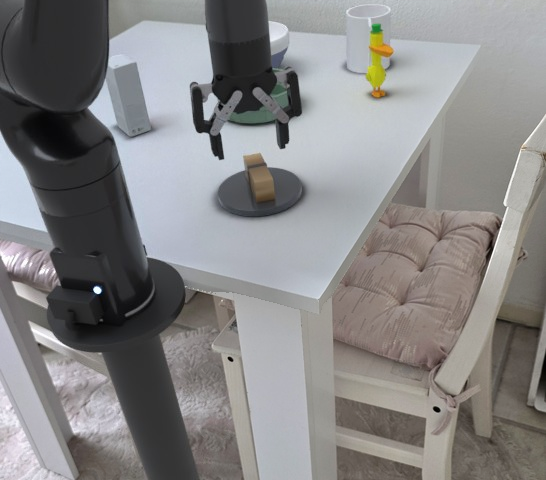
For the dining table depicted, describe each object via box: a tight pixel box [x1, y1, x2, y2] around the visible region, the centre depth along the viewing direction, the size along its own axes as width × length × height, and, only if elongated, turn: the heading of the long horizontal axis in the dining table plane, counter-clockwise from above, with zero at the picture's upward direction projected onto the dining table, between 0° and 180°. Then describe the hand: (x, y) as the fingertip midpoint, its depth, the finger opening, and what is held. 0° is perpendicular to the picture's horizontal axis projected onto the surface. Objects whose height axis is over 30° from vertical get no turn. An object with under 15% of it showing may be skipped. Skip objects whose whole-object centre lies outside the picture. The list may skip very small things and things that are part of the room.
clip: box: [242, 152, 275, 203], centre depth 93 cm, size 8×3×3 cm, turn 13°
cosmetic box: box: [105, 53, 152, 138], centre depth 112 cm, size 6×4×12 cm
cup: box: [345, 3, 392, 74], centre depth 123 cm, size 8×12×10 cm
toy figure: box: [365, 24, 394, 99], centre depth 113 cm, size 7×4×12 cm, turn 30°
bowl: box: [268, 20, 290, 69], centre depth 128 cm, size 14×14×8 cm
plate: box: [217, 166, 303, 218], centre depth 95 cm, size 12×12×1 cm
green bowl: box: [216, 68, 288, 124], centre depth 116 cm, size 14×14×4 cm
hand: (251, 152), depth 90 cm, fingers open, 8 cm apart
